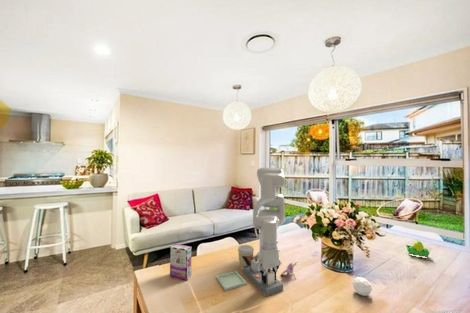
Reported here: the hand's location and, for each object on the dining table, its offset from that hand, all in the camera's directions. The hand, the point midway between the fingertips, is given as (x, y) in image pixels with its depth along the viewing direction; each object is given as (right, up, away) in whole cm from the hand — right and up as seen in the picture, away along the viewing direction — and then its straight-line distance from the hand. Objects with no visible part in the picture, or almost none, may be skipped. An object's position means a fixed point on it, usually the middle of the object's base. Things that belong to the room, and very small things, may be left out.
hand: (268, 280), depth 103 cm
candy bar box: (-47, -4, +10) cm, 49 cm away
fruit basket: (+109, -6, +37) cm, 115 cm away
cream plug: (0, -4, 0) cm, 4 cm away
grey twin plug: (-5, -4, +11) cm, 13 cm away
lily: (+14, -5, +10) cm, 18 cm away
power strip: (-3, -4, +5) cm, 7 cm away
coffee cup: (-11, -5, +19) cm, 22 cm away
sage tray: (-19, -4, +5) cm, 20 cm away
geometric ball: (+45, -5, -3) cm, 45 cm away
